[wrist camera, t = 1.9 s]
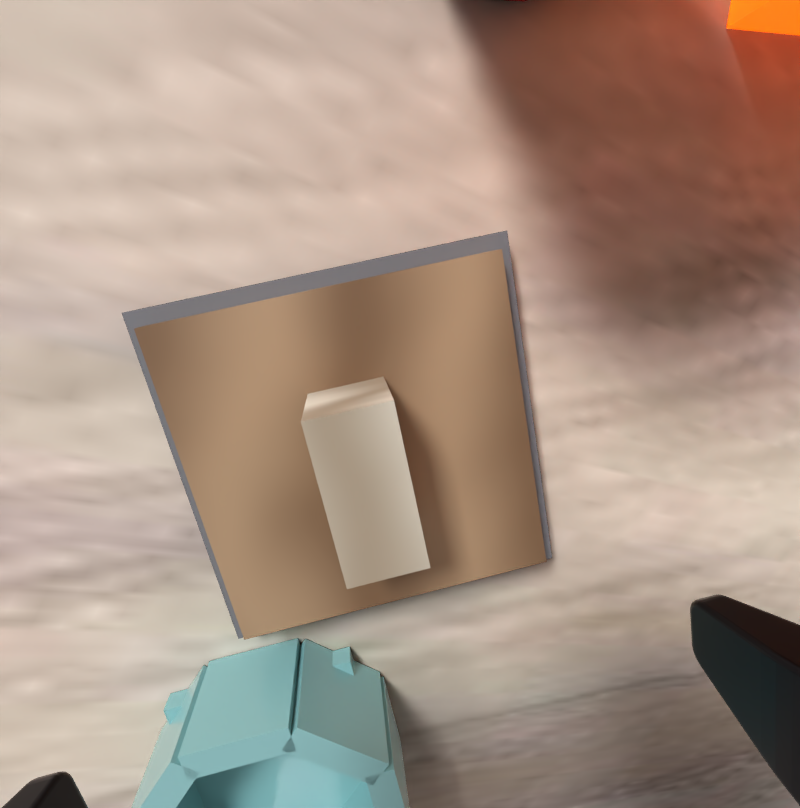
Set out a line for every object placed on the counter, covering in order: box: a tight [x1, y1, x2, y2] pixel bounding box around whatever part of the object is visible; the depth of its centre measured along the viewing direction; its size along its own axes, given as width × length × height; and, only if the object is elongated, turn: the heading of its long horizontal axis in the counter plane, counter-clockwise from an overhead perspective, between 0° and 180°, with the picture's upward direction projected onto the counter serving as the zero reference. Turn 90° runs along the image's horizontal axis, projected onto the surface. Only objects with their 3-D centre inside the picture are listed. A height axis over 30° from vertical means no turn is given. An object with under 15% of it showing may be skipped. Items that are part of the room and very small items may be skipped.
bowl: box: [131, 638, 410, 808], centre depth 19 cm, size 9×9×4 cm
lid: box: [134, 249, 546, 640], centre depth 15 cm, size 11×11×4 cm
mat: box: [122, 231, 552, 638], centre depth 17 cm, size 12×12×1 cm
